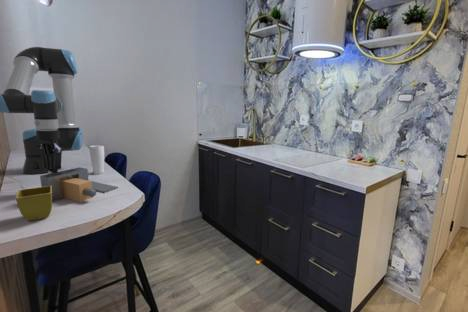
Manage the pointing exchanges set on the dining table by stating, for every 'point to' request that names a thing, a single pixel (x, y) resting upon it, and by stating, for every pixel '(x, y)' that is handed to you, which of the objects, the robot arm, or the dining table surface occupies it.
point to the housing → (54, 180)
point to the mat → (102, 187)
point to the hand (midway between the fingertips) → (54, 184)
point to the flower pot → (35, 202)
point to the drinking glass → (97, 158)
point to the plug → (76, 188)
